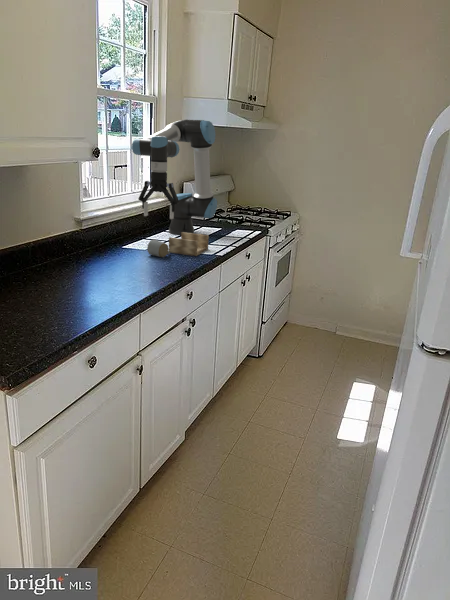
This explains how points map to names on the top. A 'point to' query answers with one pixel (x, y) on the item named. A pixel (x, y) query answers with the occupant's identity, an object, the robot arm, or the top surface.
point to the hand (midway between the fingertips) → (158, 217)
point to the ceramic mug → (158, 248)
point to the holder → (189, 244)
